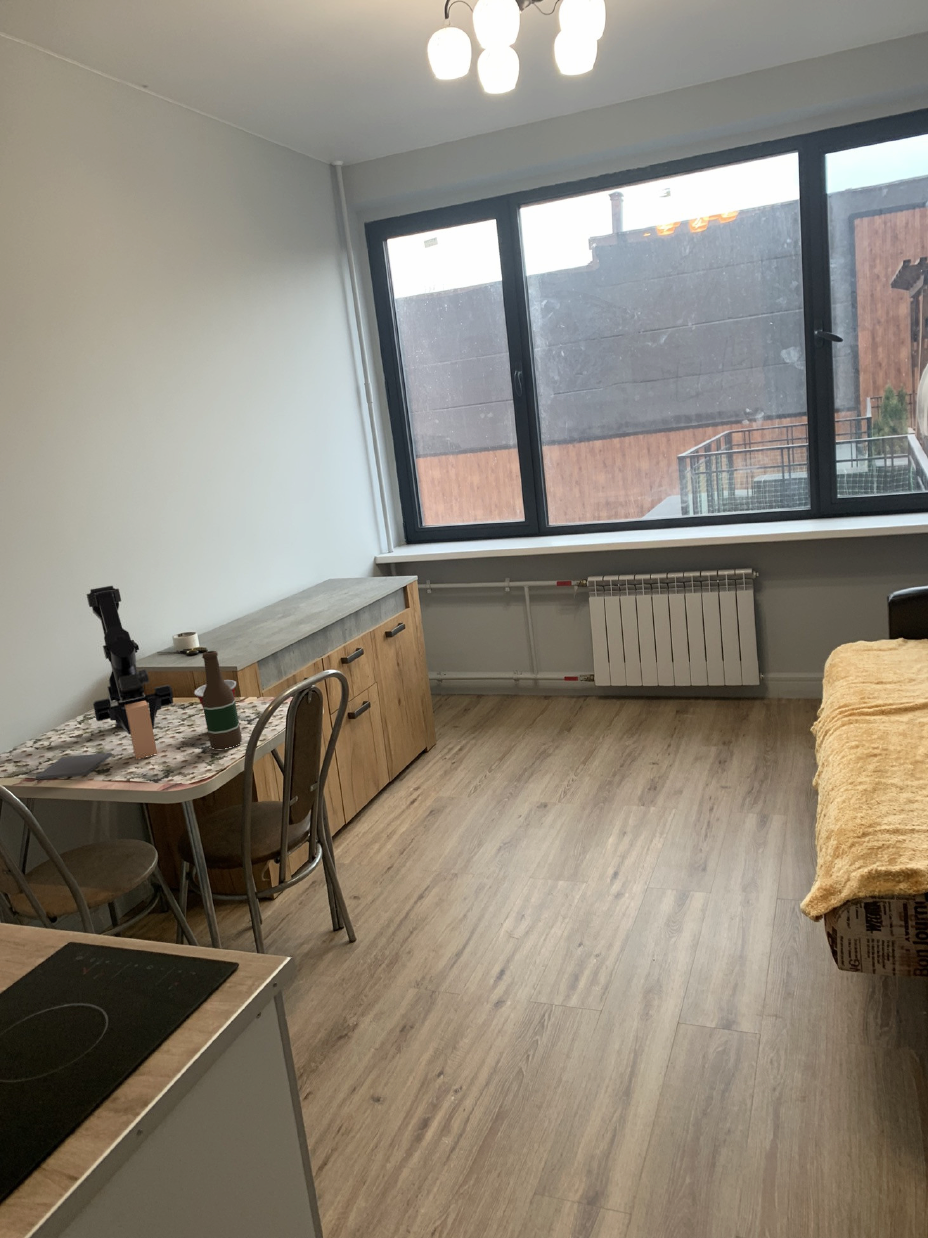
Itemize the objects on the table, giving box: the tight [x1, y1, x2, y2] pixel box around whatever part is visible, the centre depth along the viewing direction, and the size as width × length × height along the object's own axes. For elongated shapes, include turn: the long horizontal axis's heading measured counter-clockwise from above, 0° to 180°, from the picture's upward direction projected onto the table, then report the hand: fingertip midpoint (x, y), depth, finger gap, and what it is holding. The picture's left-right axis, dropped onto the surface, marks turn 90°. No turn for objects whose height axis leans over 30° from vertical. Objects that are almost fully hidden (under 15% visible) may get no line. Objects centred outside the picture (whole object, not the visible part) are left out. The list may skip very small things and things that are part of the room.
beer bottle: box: [201, 650, 243, 750], centre depth 229 cm, size 8×8×24 cm
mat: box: [34, 752, 112, 781], centre depth 229 cm, size 13×13×1 cm
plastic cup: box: [194, 679, 237, 708], centre depth 243 cm, size 11×11×12 cm
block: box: [125, 701, 158, 760], centre depth 231 cm, size 5×5×13 cm
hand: (141, 730), depth 229 cm, fingers closed on block, 5 cm apart
